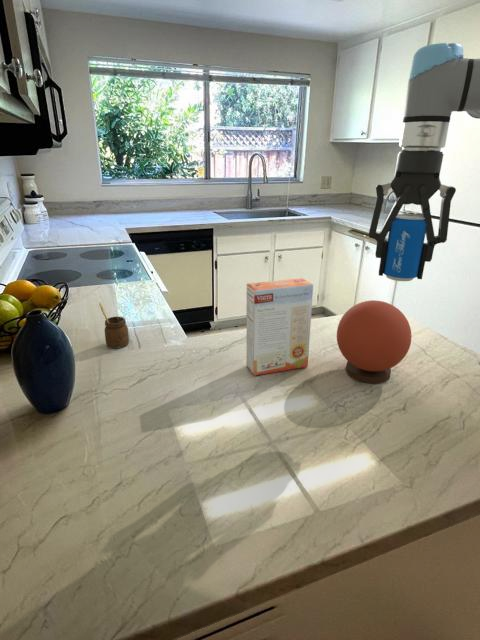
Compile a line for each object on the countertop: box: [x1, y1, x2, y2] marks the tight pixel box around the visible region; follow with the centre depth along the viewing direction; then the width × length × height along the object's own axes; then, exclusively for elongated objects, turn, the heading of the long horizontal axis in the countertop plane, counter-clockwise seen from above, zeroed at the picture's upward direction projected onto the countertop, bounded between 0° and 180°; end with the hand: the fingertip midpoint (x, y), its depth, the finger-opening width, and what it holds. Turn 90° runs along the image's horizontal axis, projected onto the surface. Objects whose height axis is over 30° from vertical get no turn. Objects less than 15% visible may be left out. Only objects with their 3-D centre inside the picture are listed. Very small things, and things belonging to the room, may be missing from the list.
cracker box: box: [246, 277, 314, 377], centre depth 93 cm, size 14×6×21 cm, turn 108°
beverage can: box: [383, 213, 426, 282], centre depth 78 cm, size 6×6×12 cm
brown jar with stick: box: [98, 302, 130, 349], centre depth 105 cm, size 6×6×12 cm
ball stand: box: [336, 299, 413, 385], centre depth 91 cm, size 16×16×18 cm
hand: (399, 275), depth 80 cm, fingers closed on beverage can, 6 cm apart
